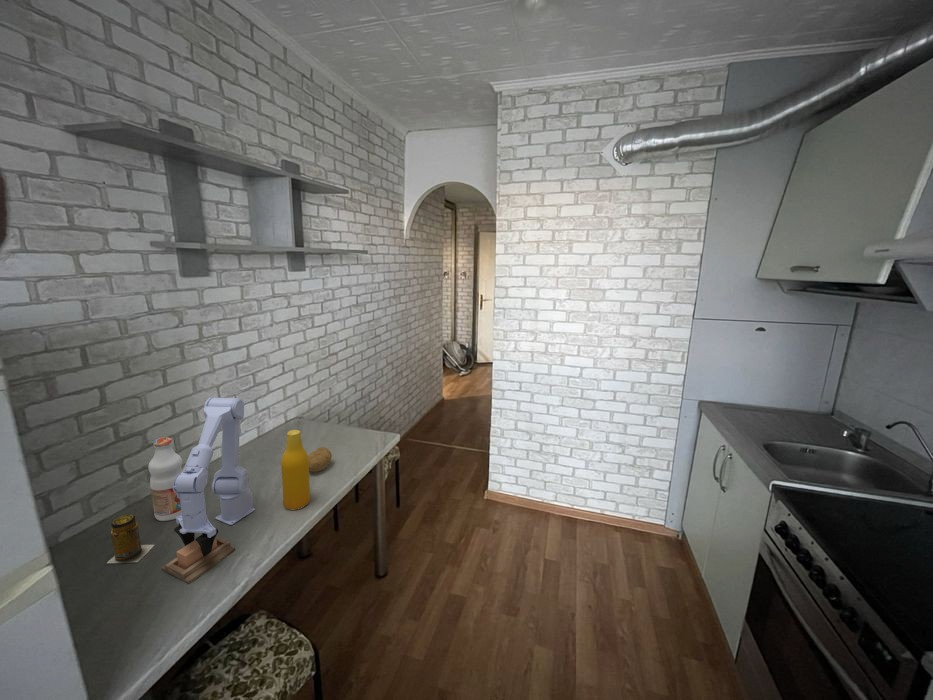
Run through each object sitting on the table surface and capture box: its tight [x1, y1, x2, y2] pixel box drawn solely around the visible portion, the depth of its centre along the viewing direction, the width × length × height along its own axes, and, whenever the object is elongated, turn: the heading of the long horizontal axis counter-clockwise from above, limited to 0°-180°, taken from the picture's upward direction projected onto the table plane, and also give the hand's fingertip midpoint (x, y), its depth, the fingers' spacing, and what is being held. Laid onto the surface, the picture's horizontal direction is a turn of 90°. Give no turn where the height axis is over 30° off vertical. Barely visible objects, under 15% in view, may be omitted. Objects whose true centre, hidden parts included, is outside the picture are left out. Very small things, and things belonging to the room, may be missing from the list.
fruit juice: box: [147, 437, 183, 522], centre depth 130 cm, size 9×9×28 cm
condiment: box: [106, 514, 155, 564], centre depth 113 cm, size 7×8×12 cm
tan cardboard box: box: [175, 537, 217, 570], centre depth 113 cm, size 9×4×5 cm, turn 159°
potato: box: [307, 446, 333, 473], centre depth 165 cm, size 10×14×8 cm
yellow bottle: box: [280, 429, 311, 510], centre depth 139 cm, size 9×9×29 cm
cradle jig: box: [160, 535, 236, 585], centre depth 114 cm, size 14×12×2 cm
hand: (198, 549), depth 113 cm, fingers open, 7 cm apart
